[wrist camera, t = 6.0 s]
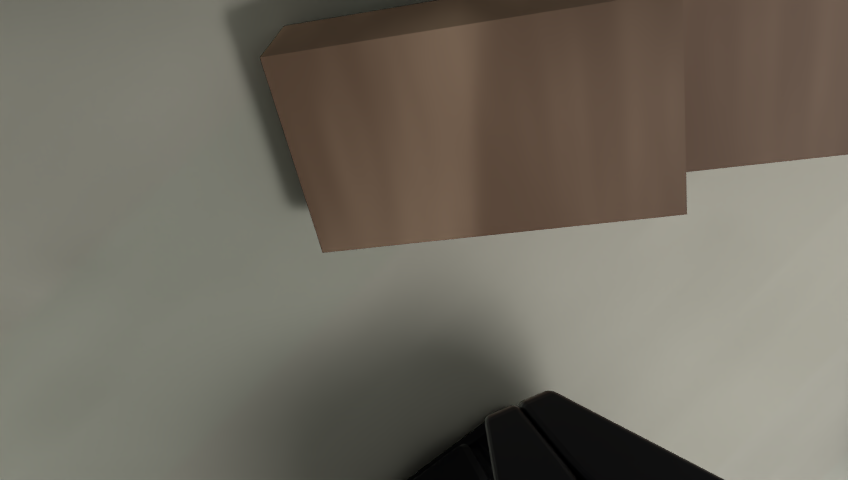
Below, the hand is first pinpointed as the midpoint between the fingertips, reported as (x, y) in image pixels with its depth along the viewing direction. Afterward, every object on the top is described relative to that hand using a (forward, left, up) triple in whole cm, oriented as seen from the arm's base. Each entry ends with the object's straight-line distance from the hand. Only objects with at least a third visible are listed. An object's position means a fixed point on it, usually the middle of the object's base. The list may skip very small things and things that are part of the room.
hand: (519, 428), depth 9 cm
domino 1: (0, +1, -11) cm, 11 cm away
